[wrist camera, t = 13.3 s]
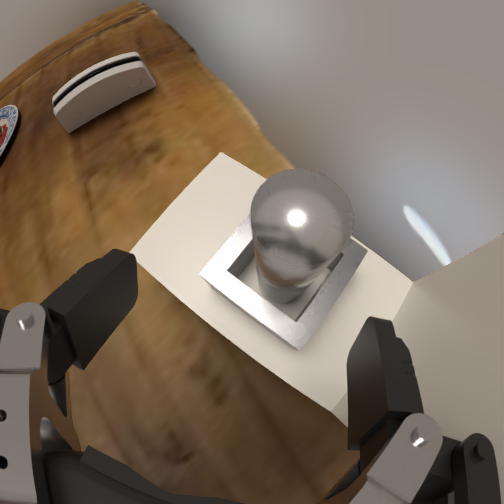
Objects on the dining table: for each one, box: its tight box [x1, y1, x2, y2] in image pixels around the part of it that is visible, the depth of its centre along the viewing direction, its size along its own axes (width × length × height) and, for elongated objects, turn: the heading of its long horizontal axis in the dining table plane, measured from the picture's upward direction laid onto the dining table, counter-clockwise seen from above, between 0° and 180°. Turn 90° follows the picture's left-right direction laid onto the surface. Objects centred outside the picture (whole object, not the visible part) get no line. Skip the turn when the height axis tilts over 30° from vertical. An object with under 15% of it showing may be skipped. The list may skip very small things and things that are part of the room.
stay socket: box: [199, 214, 368, 351], centre depth 19 cm, size 8×8×4 cm
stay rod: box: [250, 169, 354, 303], centre depth 15 cm, size 4×4×12 cm
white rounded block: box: [52, 52, 156, 134], centre depth 34 cm, size 17×5×10 cm, turn 117°
